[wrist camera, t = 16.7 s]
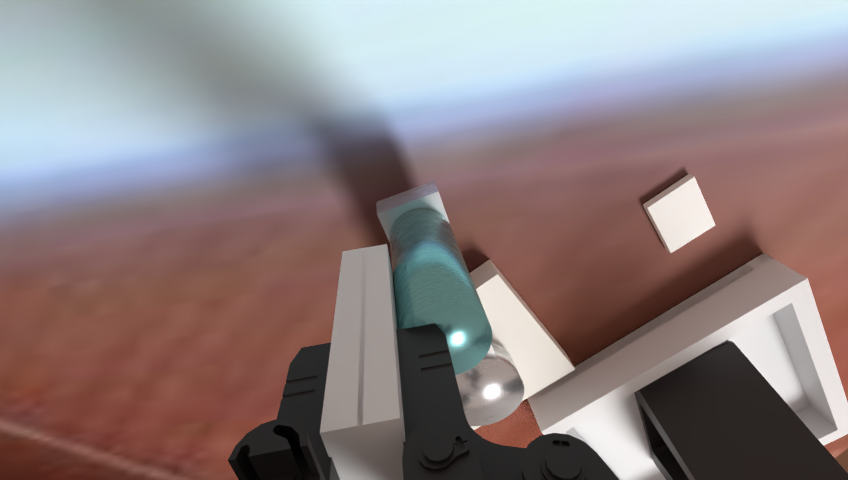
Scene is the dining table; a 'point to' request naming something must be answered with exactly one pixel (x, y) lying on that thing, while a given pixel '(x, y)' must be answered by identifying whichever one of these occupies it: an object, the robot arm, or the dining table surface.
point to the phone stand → (728, 424)
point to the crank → (447, 302)
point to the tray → (690, 337)
